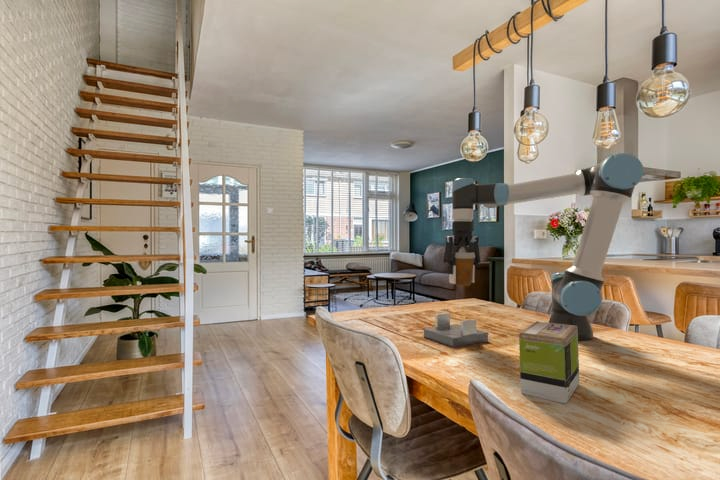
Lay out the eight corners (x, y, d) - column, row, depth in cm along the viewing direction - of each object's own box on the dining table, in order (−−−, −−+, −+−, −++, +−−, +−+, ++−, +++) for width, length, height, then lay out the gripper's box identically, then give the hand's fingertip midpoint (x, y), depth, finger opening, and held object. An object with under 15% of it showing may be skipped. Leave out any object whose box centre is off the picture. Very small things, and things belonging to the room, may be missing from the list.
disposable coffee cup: (472, 283, 146) (473, 251, 146) (477, 286, 137) (477, 252, 137) (447, 282, 148) (447, 251, 148) (449, 286, 138) (450, 252, 138)
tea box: (537, 376, 102) (536, 319, 102) (580, 384, 95) (579, 324, 95) (518, 394, 90) (518, 330, 90) (566, 405, 84) (566, 337, 84)
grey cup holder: (488, 341, 136) (487, 318, 136) (453, 347, 129) (452, 323, 129) (456, 331, 151) (456, 311, 151) (423, 336, 143) (423, 315, 143)
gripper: (477, 222, 150) (476, 280, 150) (433, 220, 141) (432, 282, 141) (491, 221, 143) (490, 282, 143) (446, 219, 134) (445, 285, 134)
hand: (461, 282), depth 142 cm, fingers closed on disposable coffee cup, 8 cm apart
